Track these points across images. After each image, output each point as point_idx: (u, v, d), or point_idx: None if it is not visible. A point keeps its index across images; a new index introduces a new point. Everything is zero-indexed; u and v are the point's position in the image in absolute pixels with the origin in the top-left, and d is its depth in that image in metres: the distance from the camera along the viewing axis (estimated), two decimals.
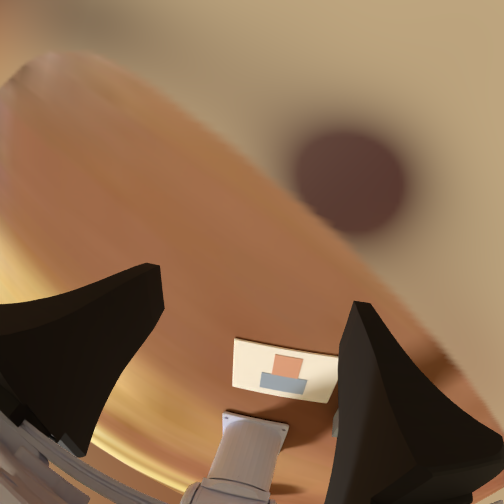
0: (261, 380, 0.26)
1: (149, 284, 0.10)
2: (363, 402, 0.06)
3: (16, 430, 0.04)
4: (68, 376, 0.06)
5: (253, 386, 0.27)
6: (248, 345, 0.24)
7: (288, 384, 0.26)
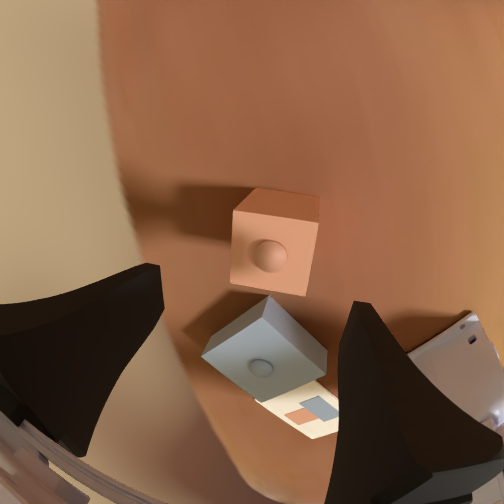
0: (333, 417, 0.25)
1: (149, 284, 0.10)
2: (363, 402, 0.06)
3: (16, 430, 0.04)
4: (68, 376, 0.06)
5: None
6: (308, 434, 0.28)
7: (318, 407, 0.25)
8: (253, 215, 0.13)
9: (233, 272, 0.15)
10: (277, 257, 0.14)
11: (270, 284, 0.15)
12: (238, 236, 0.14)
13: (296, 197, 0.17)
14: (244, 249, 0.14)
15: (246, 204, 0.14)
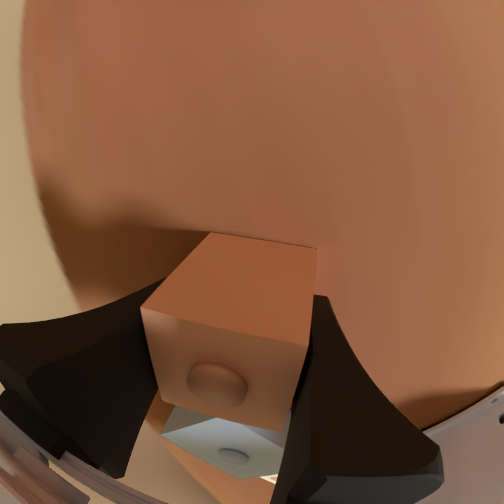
0: None
1: None
2: (302, 395, 0.06)
3: (16, 430, 0.04)
4: (111, 399, 0.06)
5: None
6: None
7: None
8: (176, 320, 0.06)
9: (163, 390, 0.08)
10: (228, 391, 0.07)
11: (223, 413, 0.08)
12: (159, 349, 0.07)
13: (275, 255, 0.10)
14: (172, 367, 0.07)
15: (173, 285, 0.07)
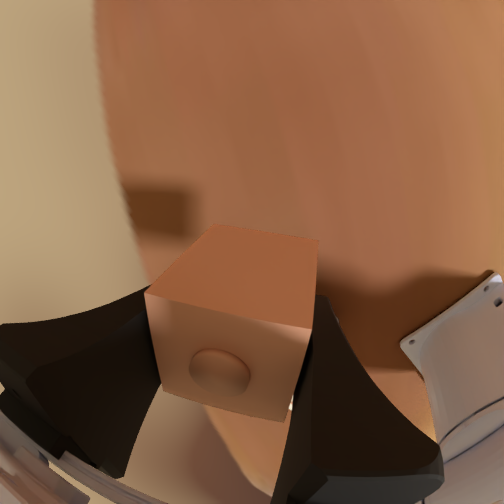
0: None
1: None
2: (302, 395, 0.06)
3: (16, 430, 0.04)
4: (111, 399, 0.06)
5: None
6: None
7: None
8: (180, 305, 0.06)
9: (165, 380, 0.08)
10: (230, 379, 0.07)
11: (225, 403, 0.08)
12: (162, 336, 0.07)
13: (277, 245, 0.10)
14: (175, 355, 0.07)
15: (177, 272, 0.08)
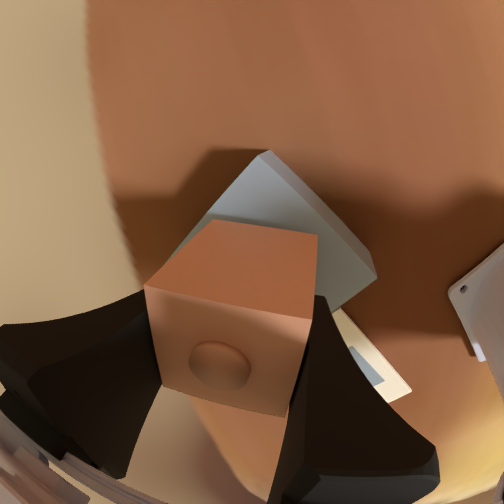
0: None
1: None
2: (298, 394, 0.06)
3: (16, 430, 0.04)
4: (112, 399, 0.06)
5: (391, 382, 0.17)
6: None
7: None
8: (179, 297, 0.06)
9: (165, 375, 0.08)
10: (230, 372, 0.07)
11: (225, 398, 0.08)
12: (161, 329, 0.07)
13: (277, 239, 0.10)
14: (174, 348, 0.07)
15: (177, 265, 0.08)
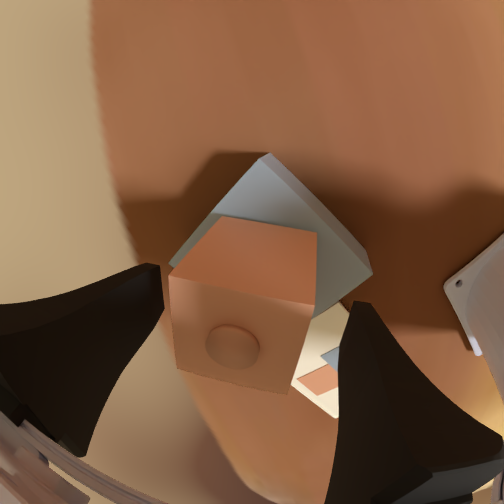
0: None
1: (149, 284, 0.10)
2: (363, 402, 0.06)
3: (16, 430, 0.04)
4: (68, 376, 0.06)
5: None
6: (329, 411, 0.20)
7: None
8: (201, 286, 0.08)
9: (179, 357, 0.09)
10: (243, 352, 0.08)
11: (235, 378, 0.09)
12: (181, 314, 0.08)
13: (281, 236, 0.11)
14: (191, 332, 0.08)
15: (195, 258, 0.09)
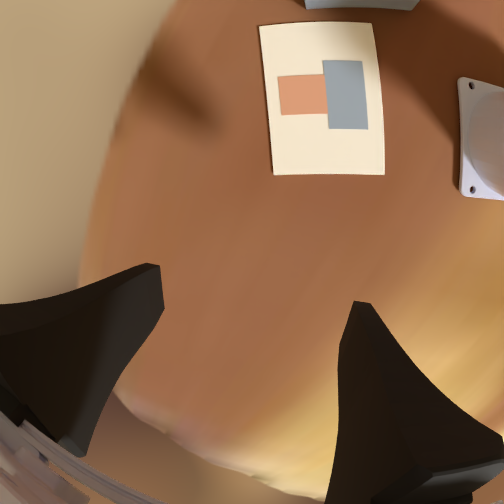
0: (350, 127, 0.15)
1: (149, 284, 0.10)
2: (363, 402, 0.06)
3: (16, 430, 0.04)
4: (68, 376, 0.06)
5: (372, 139, 0.15)
6: (277, 154, 0.17)
7: (343, 86, 0.14)
8: None
9: None
10: None
11: None
12: None
13: None
14: None
15: None
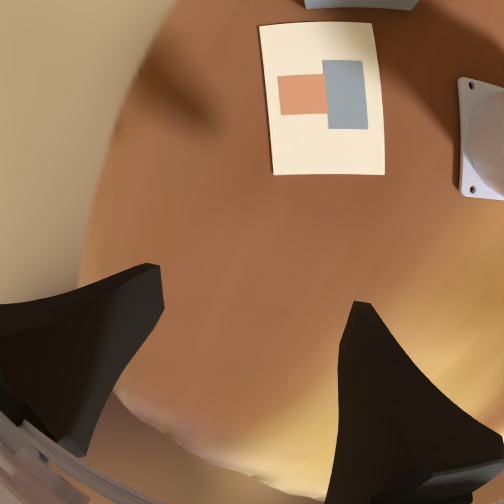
0: (350, 127, 0.15)
1: (149, 284, 0.10)
2: (363, 402, 0.06)
3: (16, 430, 0.04)
4: (68, 376, 0.06)
5: (372, 139, 0.15)
6: (277, 154, 0.17)
7: (343, 86, 0.14)
8: None
9: None
10: None
11: None
12: None
13: None
14: None
15: None
